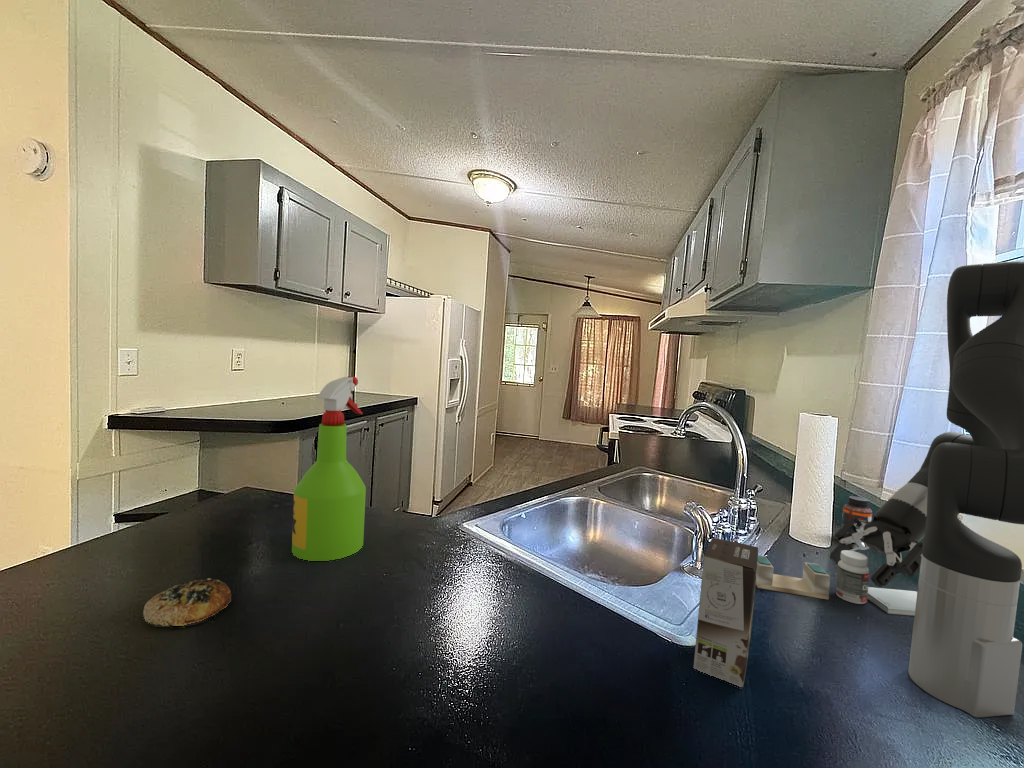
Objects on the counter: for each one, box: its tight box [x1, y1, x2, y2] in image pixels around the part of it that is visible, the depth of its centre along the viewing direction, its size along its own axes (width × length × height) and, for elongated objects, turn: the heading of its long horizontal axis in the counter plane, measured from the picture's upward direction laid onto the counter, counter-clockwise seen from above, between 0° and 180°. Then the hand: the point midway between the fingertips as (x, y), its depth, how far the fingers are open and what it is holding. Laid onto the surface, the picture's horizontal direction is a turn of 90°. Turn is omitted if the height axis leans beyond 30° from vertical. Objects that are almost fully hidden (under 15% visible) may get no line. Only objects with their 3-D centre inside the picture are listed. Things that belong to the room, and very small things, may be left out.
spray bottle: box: [291, 375, 367, 562], centre depth 94 cm, size 14×18×35 cm
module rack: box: [755, 554, 831, 601], centre depth 88 cm, size 12×6×4 cm, turn 76°
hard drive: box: [867, 586, 917, 617], centre depth 84 cm, size 2×8×12 cm
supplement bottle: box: [840, 495, 873, 544], centre depth 115 cm, size 6×6×11 cm
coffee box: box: [692, 537, 759, 688], centre depth 63 cm, size 9×6×16 cm
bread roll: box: [142, 577, 232, 626], centre depth 68 cm, size 11×11×5 cm
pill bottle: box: [835, 550, 870, 605], centre depth 85 cm, size 5×5×8 cm
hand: (853, 571), depth 84 cm, fingers open, 8 cm apart
